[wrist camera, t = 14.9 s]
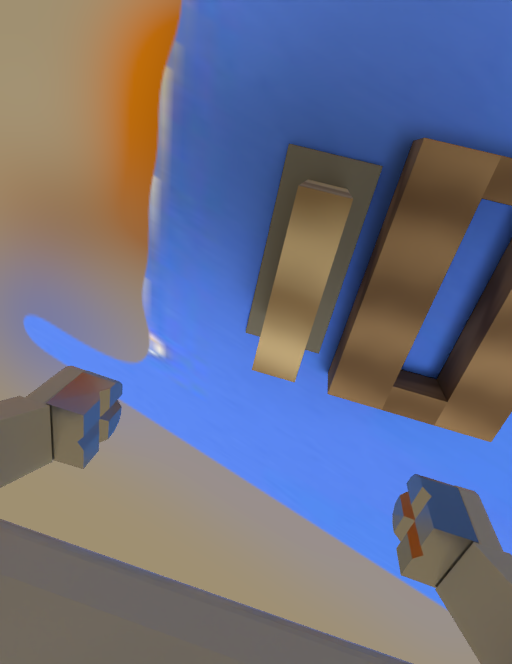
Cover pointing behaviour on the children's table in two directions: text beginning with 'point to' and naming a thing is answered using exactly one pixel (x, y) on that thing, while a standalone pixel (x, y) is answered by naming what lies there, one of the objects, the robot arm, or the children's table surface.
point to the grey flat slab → (295, 172)
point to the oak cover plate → (301, 276)
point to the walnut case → (431, 299)
